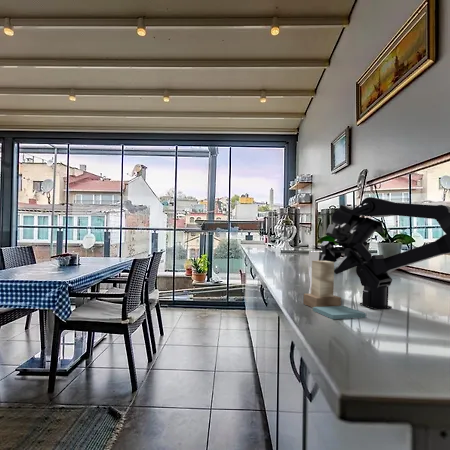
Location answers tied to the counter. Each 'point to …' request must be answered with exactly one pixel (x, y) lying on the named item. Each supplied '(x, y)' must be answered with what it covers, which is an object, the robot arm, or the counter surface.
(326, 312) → the teal mat
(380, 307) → the robot arm
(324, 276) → the maple block
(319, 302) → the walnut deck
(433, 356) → the counter surface
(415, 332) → the counter surface
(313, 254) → the beer glass
